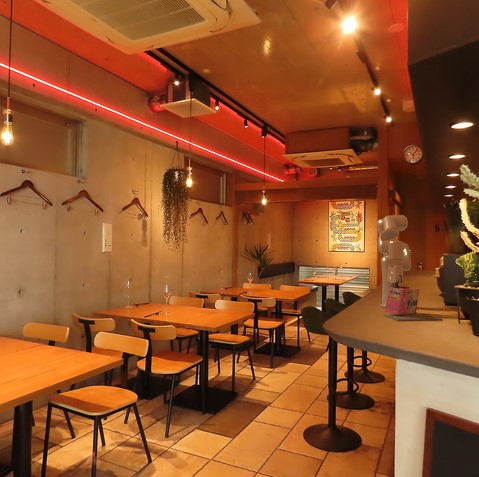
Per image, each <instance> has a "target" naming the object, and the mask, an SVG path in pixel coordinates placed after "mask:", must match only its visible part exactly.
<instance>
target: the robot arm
mask: <svg viewBox="0 0 479 477" xmlns="http://www.w3.org/2000/svg"><path fill="white" fill-rule="evenodd" d="M408 220H409V219H408V217H407V216H406V215H403V214H392V215H389V214H388V215H386V216H384V217H383V218H380V219H378V220H377V221H376V222H377V223H376V231H377V234H378V237H377V248H378V251H379V253H380V254H382V255H383V256H382V257H381V259H380V263H381V264H380V267H381V274H382V280H381V281H382V283H381V284H382V285H381V286H382V288H381V290H382V298H381V301H382V303H381V302H380V304H379V306H380V307H382V308H386V303H387V297H388V292H389V287H402V284H403V282H404V272H407V271H411V268H412V258H411V257H412V256H411V253H410V252H411V251H410V247H409V244H407V243H406V242H403V241H401V240H396V238H397V237H398V236H399V234H400V232H403V231H405V230H407V227H408V224H409V223H408Z"/></svg>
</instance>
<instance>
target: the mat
mask: <svg viewBox="0 0 479 477" xmlns="http://www.w3.org/2000/svg"><path fill="white" fill-rule="evenodd" d="M383 316H384V317H385V318H387V319H390V320H393V321H397V322H420V321H421V322H423V321H426V322H427V321H428V322H429V321H430V322H431V321H443V318H441V317H437V316H433V315H430V314H427V313H422V314H421V313H411V314H403V315H396V314H383Z"/></svg>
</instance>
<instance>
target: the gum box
mask: <svg viewBox="0 0 479 477" xmlns="http://www.w3.org/2000/svg"><path fill="white" fill-rule="evenodd" d="M419 296H420V289H419V288H418V289H415V288H410V287H409V286H400V287H389V292H388V297H387V303H386V307H385V309H384V311H385V312H386V313H388V314H389V313H390V314H392V315H403V314H417V309H418V304H419V302H418V301H419Z"/></svg>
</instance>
